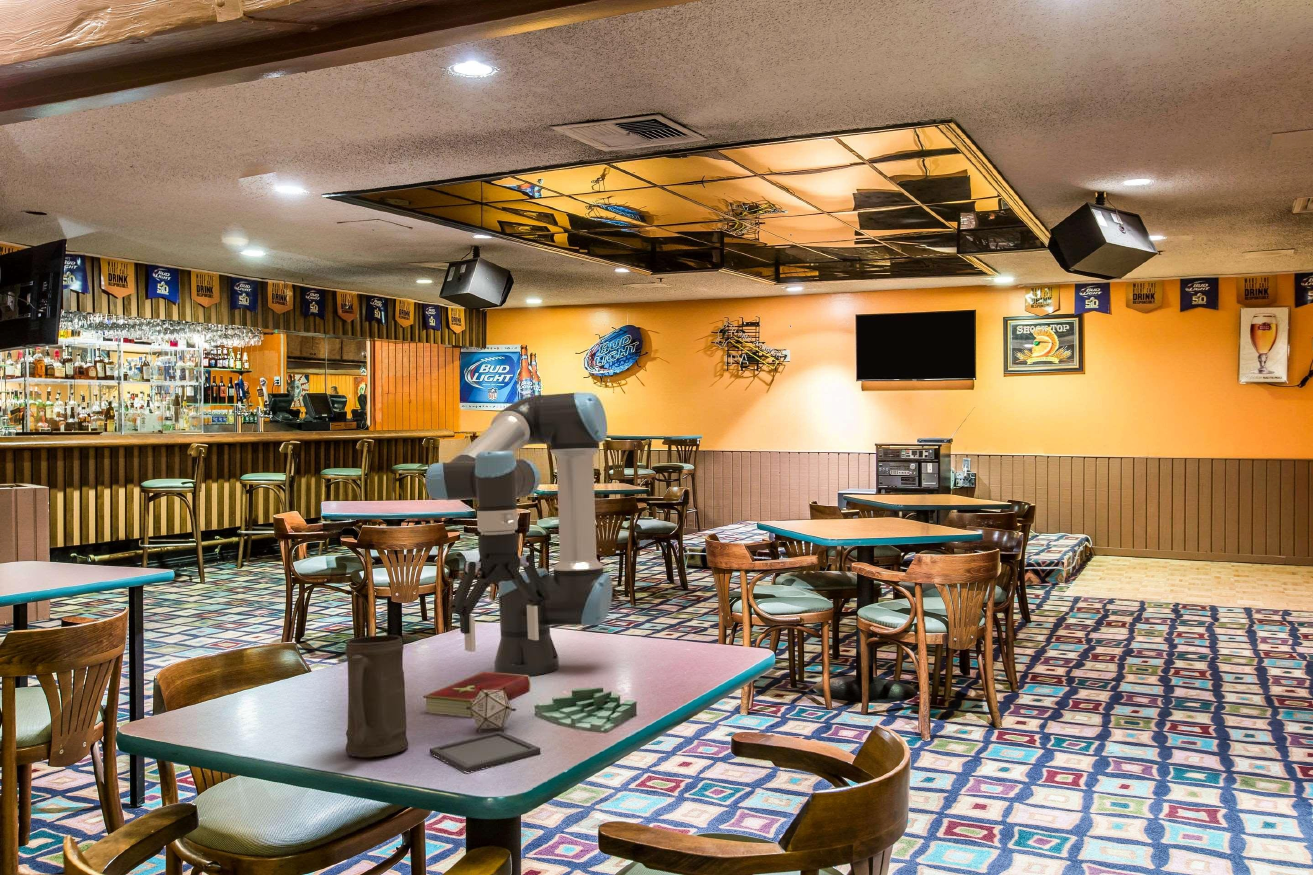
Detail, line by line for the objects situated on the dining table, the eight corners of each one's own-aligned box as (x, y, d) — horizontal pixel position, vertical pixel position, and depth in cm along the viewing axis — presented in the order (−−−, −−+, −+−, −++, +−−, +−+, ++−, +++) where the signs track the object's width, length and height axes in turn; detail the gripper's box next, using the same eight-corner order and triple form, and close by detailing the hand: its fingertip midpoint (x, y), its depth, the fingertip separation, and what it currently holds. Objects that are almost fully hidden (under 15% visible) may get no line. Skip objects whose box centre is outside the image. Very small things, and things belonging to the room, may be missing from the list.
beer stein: (353, 743, 182) (349, 634, 182) (413, 739, 183) (408, 630, 183) (333, 771, 167) (328, 652, 167) (399, 766, 168) (393, 648, 168)
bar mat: (429, 754, 174) (429, 748, 174) (500, 736, 183) (500, 730, 183) (467, 773, 163) (466, 767, 163) (540, 753, 172) (540, 747, 172)
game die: (501, 746, 189) (530, 700, 191) (489, 743, 181) (519, 695, 183) (463, 721, 191) (492, 675, 194) (450, 717, 183) (480, 670, 186)
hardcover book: (530, 693, 215) (529, 673, 215) (473, 720, 196) (472, 698, 196) (484, 689, 220) (483, 670, 220) (424, 715, 201) (423, 694, 201)
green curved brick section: (647, 711, 197) (646, 686, 197) (607, 735, 182) (606, 708, 182) (560, 703, 206) (559, 679, 206) (515, 725, 191) (514, 700, 191)
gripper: (447, 539, 177) (452, 658, 177) (564, 527, 193) (568, 637, 193) (428, 537, 183) (432, 652, 183) (543, 526, 199) (547, 632, 199)
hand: (502, 645), depth 188 cm, fingers open, 13 cm apart
